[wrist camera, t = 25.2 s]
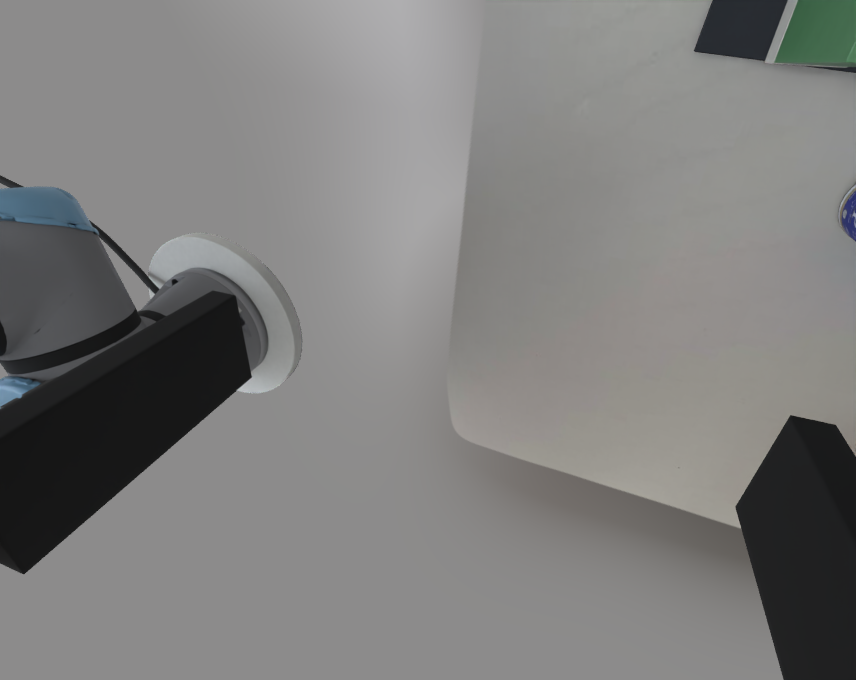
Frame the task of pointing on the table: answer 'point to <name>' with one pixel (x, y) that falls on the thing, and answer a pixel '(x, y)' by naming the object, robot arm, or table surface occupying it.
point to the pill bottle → (848, 213)
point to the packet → (815, 34)
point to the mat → (743, 29)
